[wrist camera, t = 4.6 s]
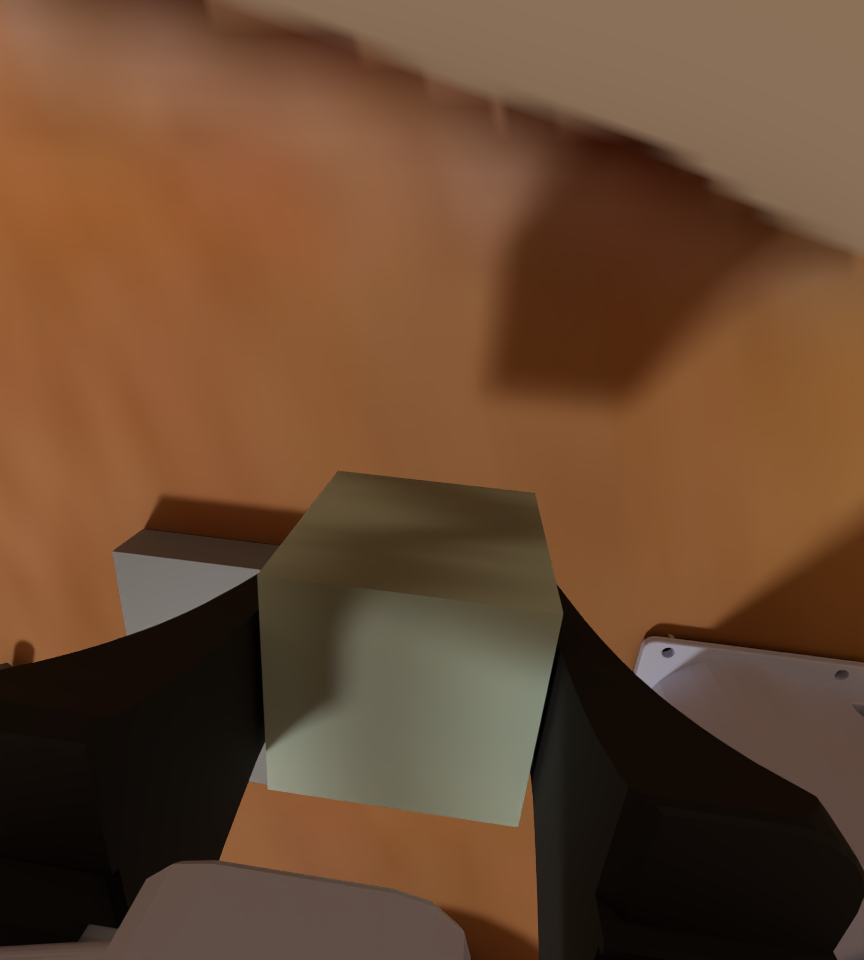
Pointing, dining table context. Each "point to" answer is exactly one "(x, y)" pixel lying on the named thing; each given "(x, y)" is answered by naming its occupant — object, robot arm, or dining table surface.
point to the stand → (183, 580)
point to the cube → (409, 647)
